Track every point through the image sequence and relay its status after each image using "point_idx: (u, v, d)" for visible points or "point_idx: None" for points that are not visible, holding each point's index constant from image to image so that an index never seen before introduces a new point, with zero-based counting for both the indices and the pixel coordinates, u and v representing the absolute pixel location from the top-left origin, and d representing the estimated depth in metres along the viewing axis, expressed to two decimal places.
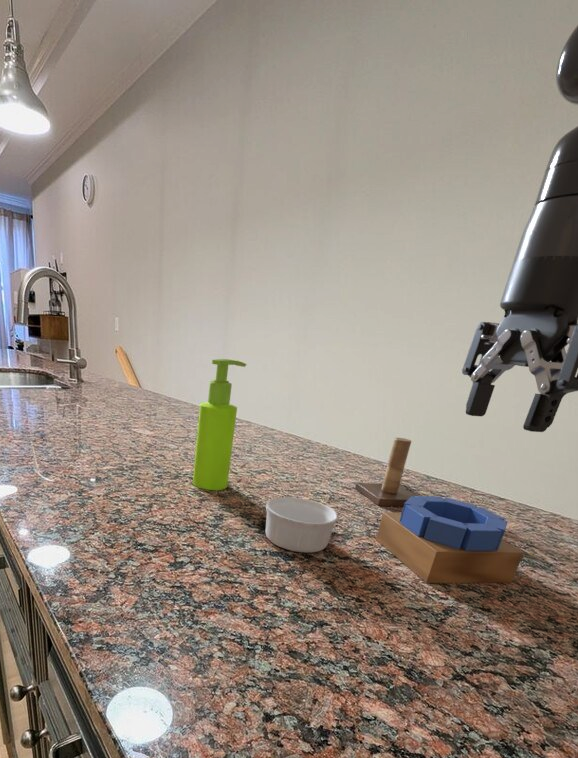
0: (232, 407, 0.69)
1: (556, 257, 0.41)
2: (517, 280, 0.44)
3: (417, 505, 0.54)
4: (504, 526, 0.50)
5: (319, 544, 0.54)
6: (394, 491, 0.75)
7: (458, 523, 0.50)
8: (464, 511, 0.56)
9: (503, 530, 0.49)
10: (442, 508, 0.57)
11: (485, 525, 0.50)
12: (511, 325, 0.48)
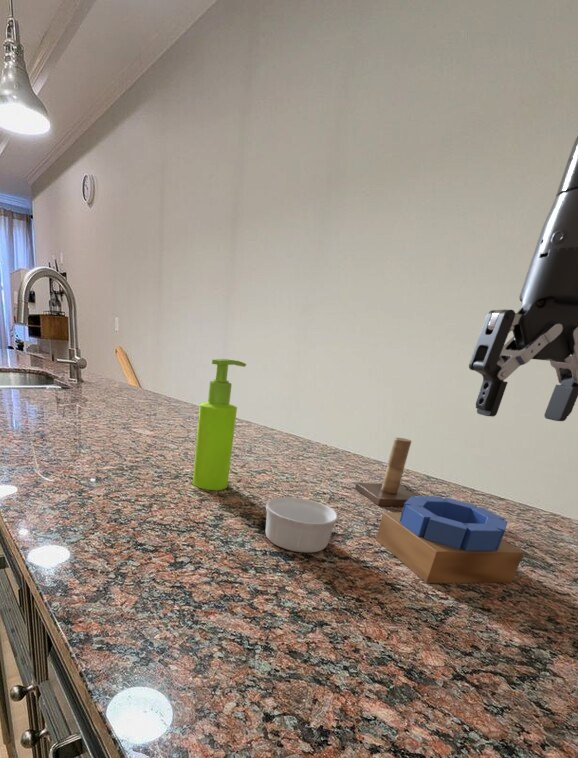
0: (232, 407, 0.69)
1: None
2: None
3: (417, 505, 0.54)
4: (504, 526, 0.50)
5: (319, 544, 0.54)
6: (394, 491, 0.75)
7: (458, 523, 0.50)
8: (464, 511, 0.56)
9: (503, 530, 0.49)
10: (442, 508, 0.57)
11: (485, 525, 0.50)
12: (547, 317, 0.44)
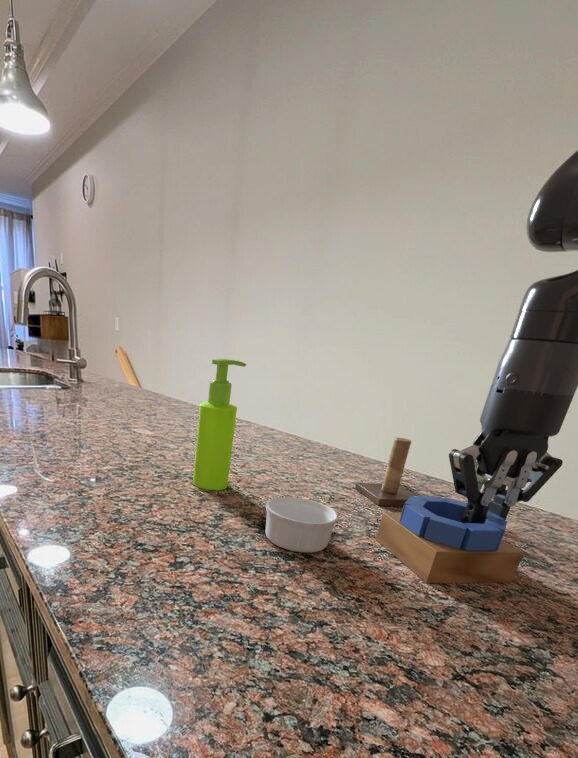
0: (232, 407, 0.69)
1: (573, 396, 0.46)
2: (553, 413, 0.46)
3: (417, 505, 0.54)
4: (504, 526, 0.50)
5: (319, 544, 0.54)
6: (394, 491, 0.75)
7: (458, 523, 0.50)
8: (464, 511, 0.56)
9: (503, 530, 0.49)
10: (442, 508, 0.57)
11: (485, 525, 0.50)
12: (504, 444, 0.49)
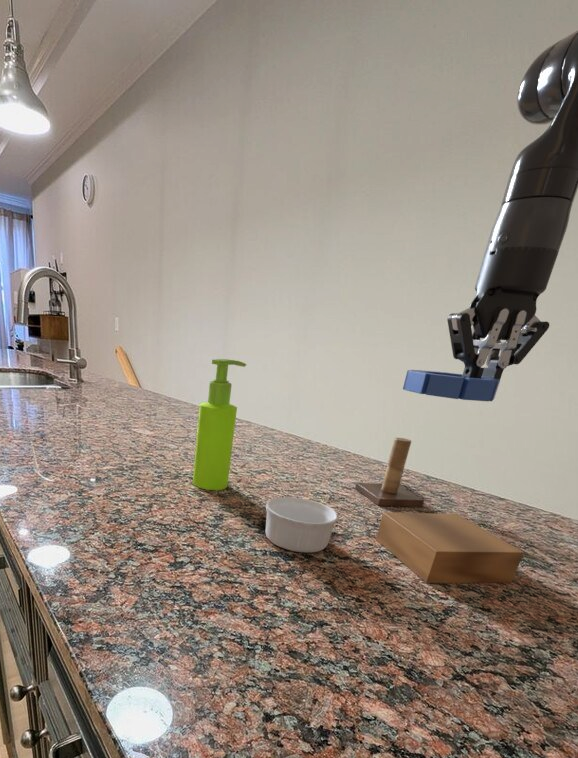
0: (232, 407, 0.69)
1: None
2: (540, 266, 0.51)
3: (419, 371, 0.59)
4: (498, 380, 0.56)
5: (319, 544, 0.54)
6: (394, 491, 0.75)
7: (456, 376, 0.55)
8: None
9: (497, 381, 0.55)
10: None
11: None
12: (497, 304, 0.55)
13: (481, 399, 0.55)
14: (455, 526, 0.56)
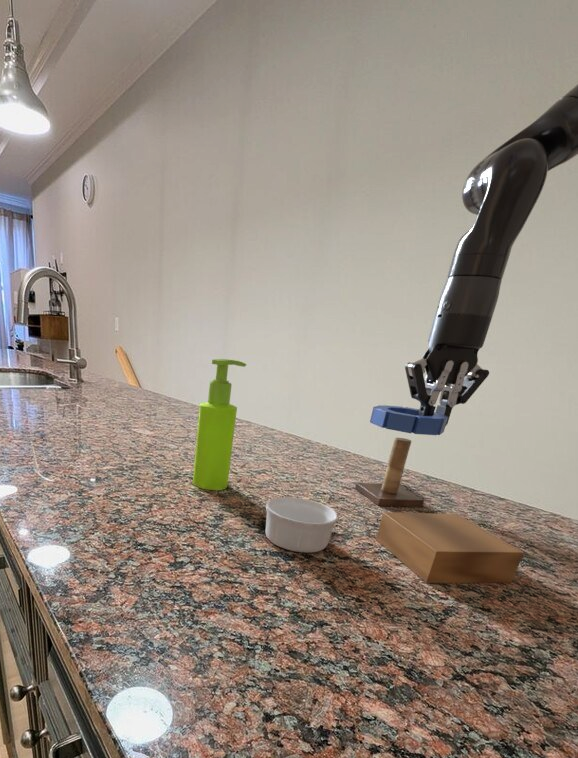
0: (232, 407, 0.69)
1: (491, 318, 0.64)
2: (476, 329, 0.64)
3: (382, 408, 0.72)
4: (444, 417, 0.68)
5: (319, 544, 0.54)
6: (394, 491, 0.75)
7: (410, 415, 0.68)
8: None
9: (443, 419, 0.67)
10: None
11: (430, 416, 0.68)
12: (444, 356, 0.67)
13: (430, 433, 0.67)
14: (455, 526, 0.56)
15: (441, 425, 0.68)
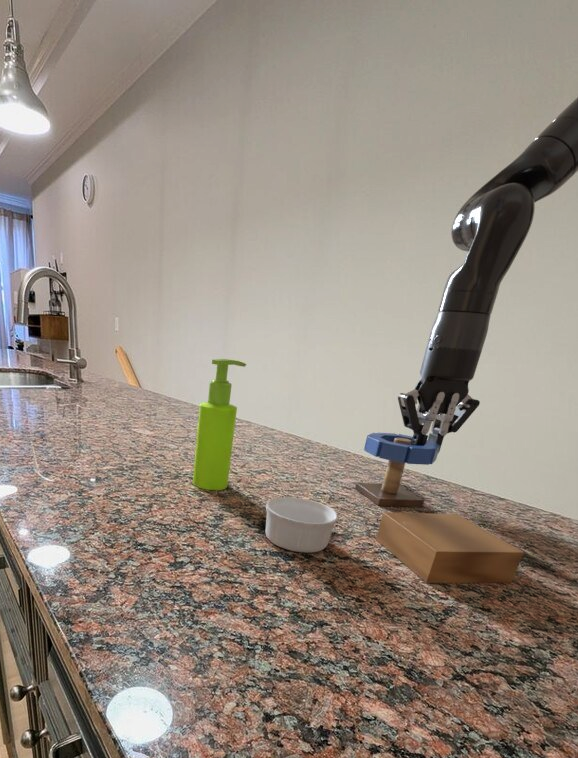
0: (232, 407, 0.69)
1: (481, 351, 0.66)
2: (466, 363, 0.65)
3: (376, 436, 0.74)
4: (436, 447, 0.70)
5: (319, 544, 0.54)
6: (394, 491, 0.75)
7: (403, 445, 0.69)
8: None
9: (434, 449, 0.69)
10: None
11: (422, 446, 0.70)
12: (435, 387, 0.69)
13: (422, 463, 0.69)
14: (455, 526, 0.56)
15: (433, 455, 0.69)
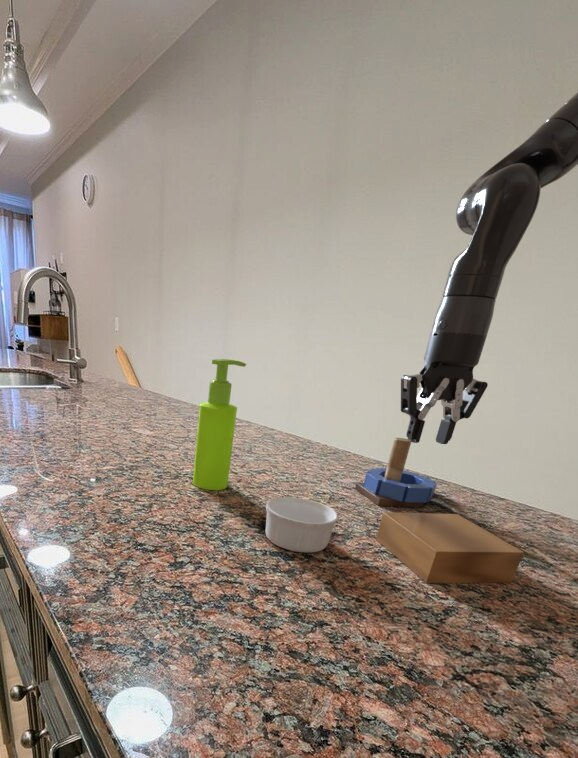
0: (232, 407, 0.69)
1: (486, 336, 0.65)
2: (471, 348, 0.65)
3: (375, 473, 0.77)
4: (433, 486, 0.73)
5: (319, 544, 0.54)
6: None
7: (401, 483, 0.72)
8: (409, 478, 0.78)
9: (431, 488, 0.72)
10: None
11: (420, 485, 0.72)
12: (440, 373, 0.68)
13: (420, 501, 0.72)
14: (455, 526, 0.56)
15: (430, 493, 0.72)
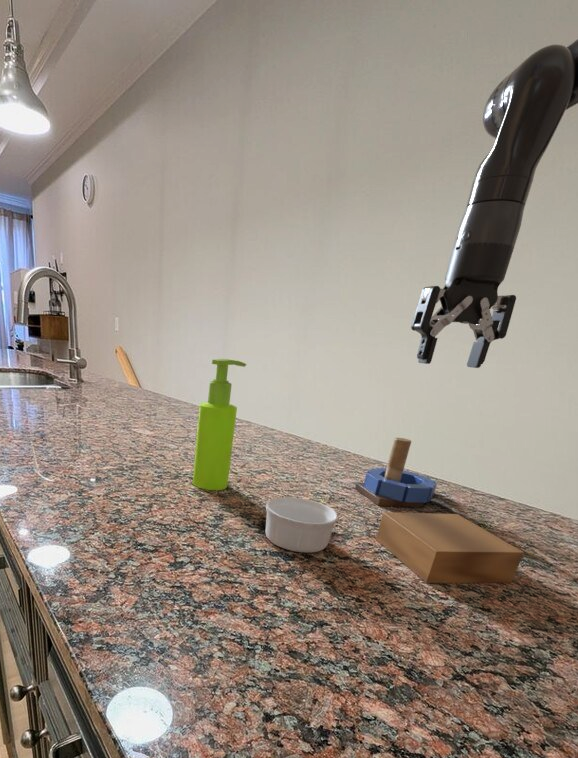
0: (232, 407, 0.69)
1: (513, 248, 0.61)
2: (497, 259, 0.60)
3: (375, 473, 0.77)
4: (433, 486, 0.73)
5: (319, 544, 0.54)
6: None
7: (401, 483, 0.72)
8: (409, 478, 0.78)
9: (431, 488, 0.72)
10: None
11: (420, 485, 0.72)
12: (462, 291, 0.64)
13: (420, 501, 0.72)
14: (455, 526, 0.56)
15: (430, 493, 0.72)
